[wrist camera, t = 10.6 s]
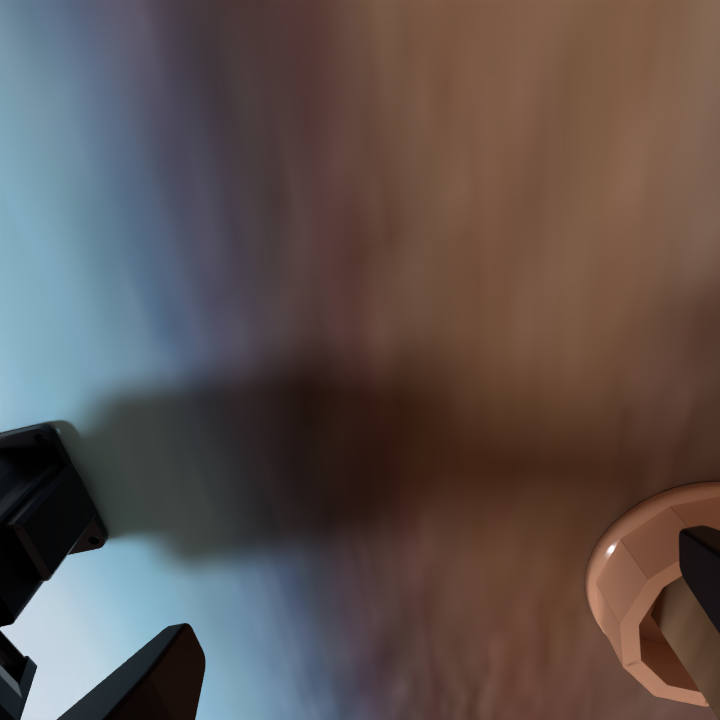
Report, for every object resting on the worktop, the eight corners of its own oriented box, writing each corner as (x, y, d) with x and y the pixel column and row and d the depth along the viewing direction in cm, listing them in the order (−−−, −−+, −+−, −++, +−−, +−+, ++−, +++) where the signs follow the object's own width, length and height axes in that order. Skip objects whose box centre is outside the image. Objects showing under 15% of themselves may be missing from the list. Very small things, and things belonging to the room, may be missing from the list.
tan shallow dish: (592, 662, 28) (621, 724, 25) (575, 507, 25) (606, 557, 22) (793, 627, 27) (848, 686, 24) (806, 460, 24) (873, 506, 21)
